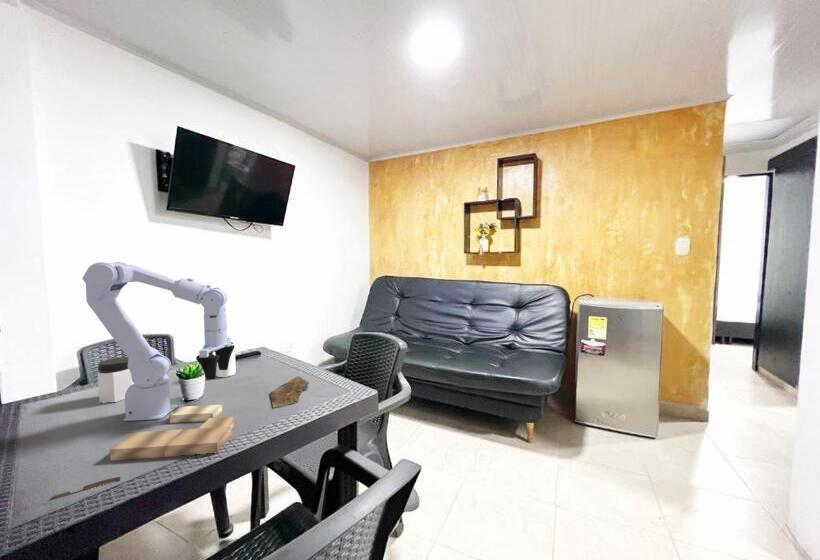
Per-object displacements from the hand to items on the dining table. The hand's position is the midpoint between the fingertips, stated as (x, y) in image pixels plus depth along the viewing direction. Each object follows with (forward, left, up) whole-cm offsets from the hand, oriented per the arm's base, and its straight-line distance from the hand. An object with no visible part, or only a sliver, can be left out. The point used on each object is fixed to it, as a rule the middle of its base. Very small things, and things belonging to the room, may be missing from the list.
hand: (217, 374), depth 96 cm
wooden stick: (-8, -35, -10) cm, 37 cm away
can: (-9, +26, -10) cm, 29 cm away
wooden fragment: (+19, +8, -10) cm, 23 cm away
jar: (-34, +9, -10) cm, 37 cm away
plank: (-2, -7, -10) cm, 12 cm away
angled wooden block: (+1, -20, -9) cm, 22 cm away
